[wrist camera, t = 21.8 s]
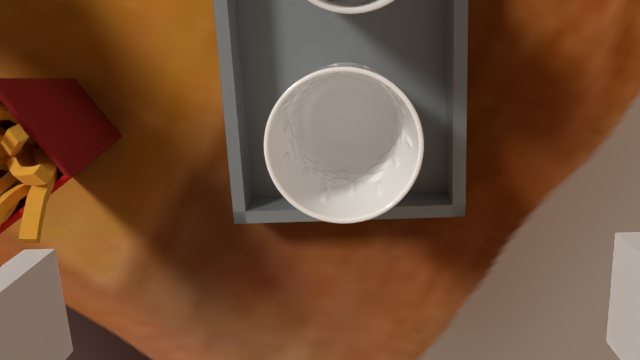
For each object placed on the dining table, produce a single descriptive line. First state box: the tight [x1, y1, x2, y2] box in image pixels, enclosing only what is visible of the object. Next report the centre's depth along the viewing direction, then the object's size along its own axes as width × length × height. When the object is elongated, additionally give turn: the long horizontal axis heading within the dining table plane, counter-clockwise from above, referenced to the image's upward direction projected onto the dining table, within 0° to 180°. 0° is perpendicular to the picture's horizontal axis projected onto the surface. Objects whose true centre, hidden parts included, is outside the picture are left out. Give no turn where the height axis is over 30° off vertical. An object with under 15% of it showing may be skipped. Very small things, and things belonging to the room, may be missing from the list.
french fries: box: [0, 78, 121, 243], centre depth 34 cm, size 9×8×15 cm
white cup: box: [264, 62, 424, 223], centre depth 35 cm, size 8×8×10 cm
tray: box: [213, 0, 468, 224], centre depth 37 cm, size 24×15×4 cm, turn 3°
